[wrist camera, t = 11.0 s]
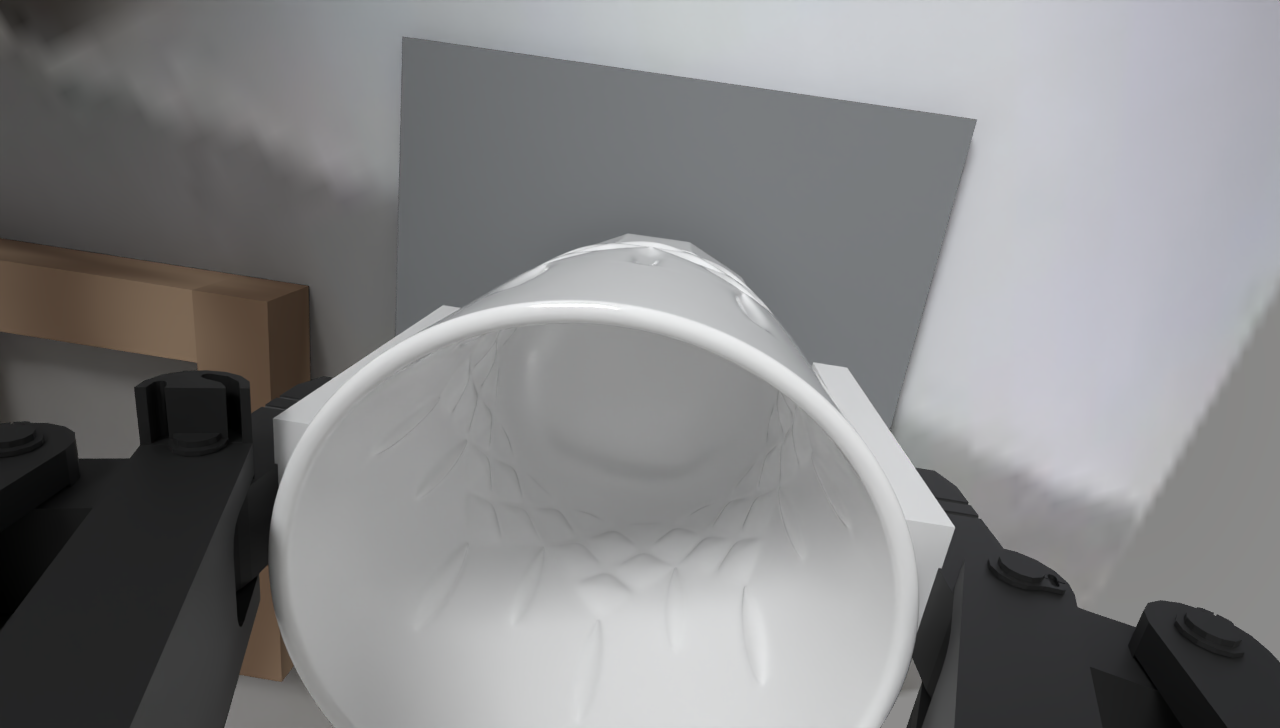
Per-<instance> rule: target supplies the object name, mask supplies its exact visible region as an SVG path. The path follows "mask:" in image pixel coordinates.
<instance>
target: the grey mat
mask: <svg viewBox="0 0 1280 728" xmlns="http://www.w3.org/2000/svg"><path fill="white" fill-rule="evenodd" d="M976 121H977V119H970V118H963V117H956V116H949V115H942V114H935V113H928V112H921V111H914V110H907V109H900V108H894V107H887V106H880V105H873V104H866V103H859V102H852V101H845V100H838V99H831V98H824V97H817V96H810V95H804V94H797V93H790V92H783V91H776V90H769V89H762V88H755V87H748V86H741V85H734V84H727V83H720V82H714V81H707V80H700V79H693V78H686V77H679V76H672V75H665V74H658V73H651V72H644V71H637V70H630V69H624V68H617V67H610V66H603V65H596V64H589V63H582V62H575V61H568V60H561V59H554V58H547V57H540V56H533V55H527V54H520V53H513V52H506V51H499V50H492V49H485V48H478V47H471V46H464V45H457V44H450V43H443V42H437V41H430V40H423V39H416V38H409V37H403V39H402V81H401V122H400V163H399V205H398V246H397V288H396V329H395V337H396V336H397V335H399V334H400V333H402V332H404V331H405V330H407V329H408V328H410V327H411V326H413V325H414V324H416V323H417V322H419V321H420V320H422V319H423V318H425V317H426V316H428V315H429V314H431V313H432V312H434V311H435V310H437V309H438V308H440V307H441V306H443V305H445V306H452V307H458V308H462V307H464V306H466V305H467V304H469V303H471V302H472V301H474V300H476V299H478V298H479V297H481V296H483V295H485V294H486V293H488V292H490V291H491V290H493V289H495V288H497V287H498V286H500V285H502V284H503V283H505V282H507V281H509V280H510V279H512V278H514V277H516V276H518V275H520V274H522V273H524V272H526V271H528V270H530V269H533V268H535V267H537V266H539V265H541V264H543V263H545V262H547V261H549V260H551V259H553V258H555V257H557V256H560V255H562V254H564V253H567V252H569V251H572V250H574V249H577V248H581V247H585V246H590V245H593V244H596V243H599V242H602V241H606V240H609V239H612V238H615V237H618V236H621V235H624V234H627V233H630V234H637V235H644V236H651V237H658V238H665V239H672V240H680V241H687V242H691V243H692V244H694V245H695V246H697V247H698V248H700V249H701V250H703V251H704V252H706V253H707V254H709V255H710V256H711V257H713V258H714V259H716V260H717V261H719V262H720V263H722V264H723V265H725V266H726V267H728V268H729V269H731V270H732V271H734V272H735V273H737V274H738V275H740V276H741V277H742V278H743V280H744V281H745V283H746V285H747V286H748V287H749V288H750V289H751V290H752V291H753V292H754V293H755V294H756V295H757V296H758V297H759V298H760V299H761V300H762V301H763V302H764V304H765V305H766V306H767V307H768V309H769V310H770V311H771V312H772V314H773V315H774V316H775V318H776V319H777V320H778V321H779V322H780V323H781V324H782V325H783V327H784V328H785V329H786V330H787V332H788V333H789V334H790V336H791V337H792V338H793V340H794V341H795V343H796V344H797V346H798V347H799V349H800V350H801V352H802V353H803V354H804V356H805V357H806V359H807V360H808V362H809V363H810V365H811V366H812V365H813V362H814V363H821V364H827V365H834V366H840V367H847V368H848V370H849V371H850V373H851V374H852V376H853V377H854V379H855V380H856V381H857V383H858V384H859V386H860V387H861V389H862V390H863V392H864V393H865V395H866V396H867V398H868V399H869V401H870V402H871V404H872V405H873V407H874V408H875V410H876V411H877V413H878V414H879V415H880V417H881V418H882V420H883V421H884V423H885V424H886V426H887V427H888V429H889V430H890V428H891V424H892V420H893V417H894V413H895V410H896V406H897V403H898V399H899V396H900V392H901V388H902V385H903V381H904V378H905V374H906V371H907V367H908V363H909V360H910V356H911V353H912V349H913V346H914V342H915V339H916V335H917V331H918V328H919V324H920V321H921V317H922V314H923V310H924V307H925V303H926V299H927V296H928V292H929V289H930V285H931V282H932V278H933V274H934V271H935V267H936V264H937V260H938V257H939V253H940V250H941V246H942V242H943V239H944V235H945V232H946V228H947V225H948V221H949V218H950V214H951V210H952V207H953V203H954V200H955V196H956V193H957V189H958V185H959V182H960V178H961V175H962V171H963V168H964V164H965V161H966V157H967V153H968V150H969V146H970V143H971V139H972V136H973V132H974V129H975V125H976Z"/></svg>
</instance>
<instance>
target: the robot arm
mask: <svg viewBox="0 0 1280 728" xmlns="http://www.w3.org/2000/svg"><path fill="white" fill-rule="evenodd" d="M459 309H460V308H458V307H452V306H445V305H443V306H441V307H440V308H438V309H437V310H435V311H434V312H432V313H431V314H429V315H428V316H426V317H425V318H423V319H422V320H420V321H419V322H417V323H416V324H414V325H413V326H411V327H410V328H408V329H407V330H405V331H404V332H402V333H400V334H399V335H397V336H396V337H394V338H393V339H391V340H390V341H388V342H387V343H385V344H384V345H382V346H381V347H379V348H378V349H376V350H375V351H373V352H372V353H370V354H369V355H367V356H366V357H364V358H363V359H361V360H360V361H358V362H357V363H355V364H354V365H352V366H351V367H349V368H348V369H346V370H345V371H343V372H342V373H340V374H339V375H337V376H336V377H334V378H330V377H321V378H317V379H314V380H311V381H307V382H304V383H300V384H297V385H296V386H294V387H293V388H291V389H289V390H288V391H286V392H285V393H283V394H281V395H280V398H277V397H276V398H275V399H273V400H272V401H270V402H268V403H267V404H265V407H260V408H259V409H257V410H256V411H254V412H252V413H251V397H250V381H248V380H247V379H245V378H244V377H242V376H240V375H236V374H232V373H229V372H222V371H210V370H199V371H182V372H176V373H170V374H164V375H160V376H157V377H154V378H151V379H148V380H145V381H143V382H142V383H140V384H139V385H137V386H136V387H134V390H135V399H136V408H137V417H138V427H139V436H140V446H139V447H138V449H137V450H136V451H135V453H134V454H133V455H132V457H131V458H130V459H78V453H77V446H76V439H75V432H73V431H71V430H70V429H68V428H66V427H65V426H59V425H54V424H49V423H30V422H27V421H24V422H14V423H13V424H10V423H3V424H0V728H224V727H225V723H226V720H227V716H228V712H229V709H230V705H231V702H232V698H233V695H234V691H235V688H236V684H237V681H238V677H239V674H240V670H241V666H242V663H243V659H244V656H245V652H246V649H247V645H248V642H249V638H250V635H251V631H252V628H253V624H254V621H255V617H256V613H257V610H258V606H259V603H260V580H259V573H260V572H261V571H262V570H263V569H264V568H265V567H266V566H267V565H268V544H269V532H270V524H271V517H272V512H273V507H274V503H275V499H276V495H277V491H278V488H279V485H280V482H281V479H282V476H283V474H284V471H285V468H286V466H287V464H288V461H289V459H290V457H291V455H292V453H293V451H294V449H295V447H296V445H297V444H298V442H299V440H300V438H301V437H302V435H303V433H304V432H305V430H306V429H307V427H308V426H309V424H310V423H311V421H312V420H313V418H314V417H315V416H316V414H317V413H318V412H319V411H320V409H321V408H322V407H323V406H324V404H325V403H326V402H327V401H328V400H329V399H330V398H331V396H332V395H333V394H334V393H335V392H336V391H337V390H338V389H339V388H340V387H341V386H342V385H343V384H344V383H345V382H346V381H347V380H349V379H350V378H351V377H352V376H353V375H354V374H355V373H357V372H358V371H359V370H360V369H361V368H363V367H364V366H365V365H366V364H368V363H369V362H371V361H372V360H373V359H375V358H376V357H377V356H379V355H380V354H382V353H383V352H385V351H386V350H388V349H390V348H391V347H393V346H395V345H396V344H398V343H400V342H401V341H403V340H405V339H407V338H409V337H411V336H412V335H414V334H416V333H418V332H419V331H421V330H423V329H425V328H427V327H428V326H430V325H432V324H434V323H436V322H437V321H439V320H441V319H443V318H444V317H446V316H448V315H450V314H452V313H453V312H455V311H457V310H459ZM812 368H813V369H814V371H815V372H816V374H817V375H818V376H819V378H820V379H821V381H822V382H823V384H824V385H825V387H826V388H827V390H828V391H829V392H830V394H831V395H832V397H833V398H834V400H835V401H836V403H837V404H838V405H839V407H840V408H841V410H842V411H843V412H844V414H845V415H846V417H847V418H848V420H849V421H850V422H851V424H852V425H853V427H854V428H855V429H856V431H857V432H858V434H859V435H860V436H861V438H862V439H863V441H864V442H865V443H866V445H867V446H868V448H869V449H870V450H871V452H872V453H873V455H874V456H875V458H876V459H877V461H878V463H879V464H880V466H881V468H882V469H883V471H884V473H885V475H886V476H887V478H888V480H889V482H890V484H891V486H892V488H893V490H894V492H895V494H896V497H897V499H898V501H899V503H900V506H901V508H902V511H903V514H904V516H905V519H906V522H907V525H908V529H909V532H910V535H911V539H912V543H913V548H914V553H915V558H916V564H917V572H918V583H919V616H918V627H917V634H916V641H915V646H914V650H913V655H912V658H913V660H914V663H915V665H916V668H917V670H918V672H919V675H920V677H921V679H922V684H921V687H920V690H919V692H918V695H917V698H916V701H915V704H914V707H913V710H912V713H911V716H910V719H909V722H908V725H907V728H1280V662H1279V661H1278V660H1277V659H1276V658H1275V657H1274V656H1273V655H1272V653H1271V652H1270V651H1269V650H1267V649H1266V648H1265V647H1264V646H1263V645H1261V644H1260V643H1259V642H1258V641H1257V640H1256V639H1254V638H1253V637H1252V636H1251V635H1249V634H1247V633H1246V632H1244V631H1242V630H1241V629H1239V628H1238V627H1236V626H1234V624H1233V623H1232V622H1231V621H1229V620H1227V619H1225V618H1223V617H1221V616H1219V615H1216V616H1215V615H1214V613H1213V612H1210V611H1208V610H1205V609H1203V608H1194V607H1191V606H1188V605H1185V604H1182V603H1176V602H1168V601H1161V600H1160V601H1155V602H1150V603H1148V604H1147V606H1146V607H1145V609H1144V611H1143V613H1142V615H1141V618H1140V620H1139V622H1138V624H1137V626H1136V627H1133V626H1130V625H1127V624H1124V623H1121V622H1118V621H1115V620H1112V619H1109V618H1107V617H1103V616H1101V615H1098V614H1095V613H1092V612H1089V611H1086V610H1083V609H1081V608H1078V607H1077V603H1076V599H1075V594H1074V593H1073V591H1072V589H1071V587H1070V585H1069V584H1068V583H1067V582H1066V581H1065V580H1064V579H1063V578H1062V577H1061V576H1060V575H1058V574H1057V573H1056V572H1055V571H1054V570H1052V569H1050V568H1049V567H1047V566H1045V565H1044V564H1042V563H1040V562H1039V561H1037V560H1035V559H1032V558H1030V557H1027V556H1025V555H1023V554H1020V553H1018V552H1015V551H1011V550H1007V549H1003V547H1002V546H1001V545H1000V543H999V542H998V541H997V539H996V538H995V537H994V535H993V534H992V533H991V531H990V530H989V529H988V527H987V526H986V525H985V524H984V522H983V521H982V520H981V519H978V514H977V513H976V512H975V510H974V509H973V508H972V506H971V505H968V501H967V500H966V499H965V497H964V496H963V495H962V493H961V492H960V491H959V489H958V488H957V487H956V486H955V485H954V484H952V483H951V482H949V481H948V480H947V479H945V478H944V477H942V476H941V475H940V474H938V473H937V472H935V471H933V470H926V469H920V468H915V467H914V466H913V464H912V463H911V461H910V460H909V458H908V457H907V455H906V454H905V452H904V451H903V449H902V448H901V447H900V445H899V444H898V442H897V441H896V439H895V438H894V436H893V435H892V433H891V432H890V430H889V429H888V427H887V426H886V424H885V423H884V421H883V420H882V418H881V417H880V415H879V414H878V413H877V411H876V410H875V408H874V407H873V405H872V404H871V402H870V401H869V399H868V398H867V396H866V395H865V393H864V392H863V390H862V389H861V387H860V386H859V384H858V383H857V381H856V380H855V379H854V377H853V376H852V374H851V373H850V371H849V370H848V368H847V367H840V366H834V365H827V364H821V363H814V362H813V365H812ZM901 689H902V688H901Z"/></svg>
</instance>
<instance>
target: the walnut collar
mask: <svg viewBox="0 0 1280 728" xmlns="http://www.w3.org/2000/svg"><path fill="white" fill-rule="evenodd" d="M0 332H6V333H12V334H19V335H25V336H31V337H38V338H44V339H50V340H57V341H63V342H69V343H76V344H82V345H88V346H95V347H101V348H107V349H114V350H120V351H126V352H132V353H139V354H145V355H151V356H158V357H164V358H170V359H177V360H183V361H189V362H196V363H197V368H198V371H199V370H210V371H222V372H229V373H232V374H236V375H240V376H242V377H244V378H245V379H247V380H248V381H250V397H251V413H252V412H254V411H256V410H257V409H259V408H260V407H265V404H267V403H268V402H270V401H272V400H273V399H275V398H276V397H277V398H280V395H281V394H283V393H285V392H286V391H288V390H289V389H291V388H293V387H294V386H296V385H297V384H300V383H304V382H307V381H310V333H309V286H306V285H299V284H293V283H286V282H280V281H273V280H267V279H260V278H254V277H248V276H241V275H235V274H228V273H222V272H215V271H209V270H202V269H196V268H189V267H183V266H176V265H170V264H163V263H157V262H151V261H144V260H138V259H131V258H125V257H118V256H112V255H105V254H99V253H92V252H86V251H79V250H73V249H66V248H60V247H54V246H47V245H41V244H34V243H28V242H21V241H15V240H8V239H2V238H0ZM259 580H260V603H259V606H258V610H257V613H256V617H255V621H254V624H253V628H252V631H251V635H250V638H249V642H248V645H247V649H246V652H245V656H244V659H243V663H242V666H241V670H240V674H239V675H244V676H250V677H256V678H262V679H268V680H274V681H280V682H282V681H283V679H284V678H285V677H286V676H287V674H288V673H289V672H290V670H291V669H292V668H293V666H294V665H293V663H292V660H291V658H290V656H289V654H288V651H287V649H286V646H285V644H284V641H283V638H282V635H281V632H280V629H279V626H278V622H277V619H276V615H275V610H274V606H273V601H272V595H271V589H270V581H269V569H268V565H267V566H266V567H265V568H264V569H263V570H262V571H261V572H260V573H259Z"/></svg>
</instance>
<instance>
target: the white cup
mask: <svg viewBox="0 0 1280 728" xmlns="http://www.w3.org/2000/svg"><path fill="white" fill-rule="evenodd" d="M268 569H269V581H270V589H271V595H272V601H273V606H274V610H275V615H276V619H277V622H278V626H279V629H280V632H281V635H282V638H283V641H284V644H285V646H286V649H287V651H288V654H289V656H290V658H291V660H292V663H293V665H294V667H295V669H296V671H297V673H298V675H299V677H300V678H301V680H302V682H303V684H304V685H305V687H306V689H307V691H308V692H309V694H310V695H311V697H312V698H313V700H314V701H315V703H316V704H317V706H318V707H319V709H320V710H321V711H322V713H323V714H324V715H325V717H326V718H327V719H328V720H329V722H330V723H331V724H332V725H333V727H334V728H881V726H882V725H883V723H884V721H885V720H886V718H887V716H888V714H889V713H890V711H891V709H892V707H893V706H894V704H895V702H896V699H897V697H898V695H899V693H900V691H901V688H902V686H903V683H904V681H905V678H906V675H907V672H908V669H909V666H910V662H911V659H912V655H913V650H914V646H915V641H916V634H917V627H918V616H919V583H918V572H917V564H916V558H915V553H914V548H913V543H912V539H911V535H910V532H909V529H908V525H907V522H906V519H905V516H904V514H903V511H902V508H901V506H900V503H899V501H898V499H897V497H896V494H895V492H894V490H893V488H892V486H891V484H890V482H889V480H888V478H887V476H886V475H885V473H884V471H883V469H882V468H881V466H880V464H879V463H878V461H877V459H876V458H875V456H874V455H873V453H872V452H871V450H870V449H869V448H868V446H867V445H866V443H865V442H864V441H863V439H862V438H861V436H860V435H859V434H858V432H857V431H856V429H855V428H854V427H853V425H852V424H851V422H850V421H849V420H848V418H847V417H846V415H845V414H844V412H843V411H842V410H841V408H840V407H839V405H838V404H837V403H836V401H835V400H834V398H833V397H832V395H831V394H830V392H829V391H828V390H827V388H826V387H825V385H824V384H823V382H822V381H821V379H820V378H819V376H818V375H817V374H816V372H815V371H814V369H813V368H812V366H811V365H810V363H809V362H808V360H807V359H806V357H805V356H804V354H803V353H802V352H801V350H800V349H799V347H798V346H797V344H796V343H795V341H794V340H793V338H792V337H791V336H790V334H789V333H788V332H787V330H786V329H785V328H784V327H783V325H782V324H781V323H780V322H779V321H778V320H777V319H776V318H775V316H774V315H773V314H772V312H771V311H770V310H769V309H768V307H767V306H766V305H765V304H764V302H763V301H762V300H761V299H760V298H759V297H758V296H757V295H756V294H755V293H754V292H753V291H752V290H751V289H750V288H749V287H748V286H747V285H746V283H745V281H744V280H743V278H742V277H741V276H740V275H738V274H737V273H735V272H734V271H732V270H731V269H729V268H728V267H726V266H725V265H723V264H722V263H720V262H719V261H717V260H716V259H714V258H713V257H711V256H710V255H709V254H707V253H706V252H704V251H703V250H701V249H700V248H698V247H697V246H695V245H694V244H692V243H691V242H687V241H680V240H672V239H665V238H658V237H651V236H644V235H637V234H630V233H627V234H624V235H621V236H618V237H615V238H612V239H609V240H606V241H602V242H599V243H596V244H593V245H590V246H585V247H581V248H577V249H574V250H572V251H569V252H567V253H564V254H562V255H560V256H557V257H555V258H553V259H551V260H549V261H547V262H545V263H543V264H541V265H539V266H537V267H535V268H533V269H530V270H528V271H526V272H524V273H522V274H520V275H518V276H516V277H514V278H512V279H510V280H509V281H507V282H505V283H503V284H502V285H500V286H498V287H497V288H495V289H493V290H491V291H490V292H488V293H486V294H485V295H483V296H481V297H479V298H478V299H476V300H474V301H472V302H471V303H469V304H467V305H466V306H464V307H462V308H460V309H459V310H457V311H455V312H453V313H452V314H450V315H448V316H446V317H444V318H443V319H441V320H439V321H437V322H436V323H434V324H432V325H430V326H428V327H427V328H425V329H423V330H421V331H419V332H418V333H416V334H414V335H412V336H411V337H409V338H407V339H405V340H403V341H401V342H400V343H398V344H396V345H395V346H393V347H391V348H390V349H388V350H386V351H385V352H383V353H382V354H380V355H379V356H377V357H376V358H375V359H373V360H372V361H371V362H369V363H368V364H366V365H365V366H364V367H363V368H361V369H360V370H359V371H358V372H357V373H355V374H354V375H353V376H352V377H351V378H350V379H349V380H347V381H346V382H345V383H344V384H343V385H342V386H341V387H340V388H339V389H338V390H337V391H336V392H335V393H334V394H333V395H332V396H331V398H330V399H329V400H328V401H327V402H326V403H325V404H324V406H323V407H322V408H321V409H320V411H319V412H318V413H317V414H316V416H315V417H314V418H313V420H312V421H311V423H310V424H309V426H308V427H307V429H306V430H305V432H304V433H303V435H302V437H301V438H300V440H299V442H298V444H297V445H296V447H295V449H294V451H293V453H292V455H291V457H290V459H289V461H288V464H287V466H286V468H285V471H284V474H283V476H282V479H281V482H280V485H279V488H278V491H277V495H276V499H275V503H274V507H273V512H272V517H271V524H270V532H269V544H268Z"/></svg>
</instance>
